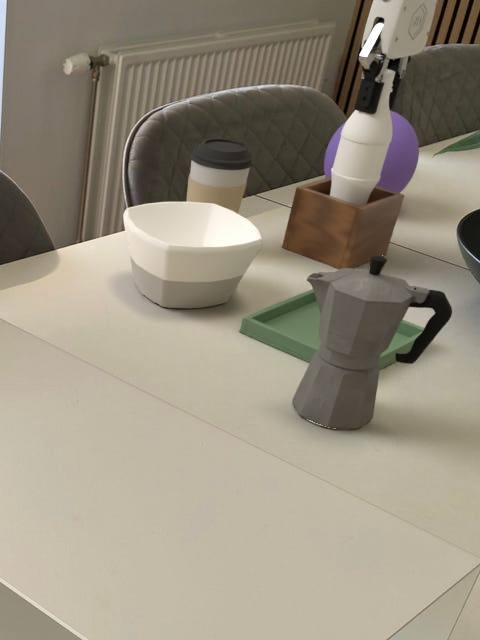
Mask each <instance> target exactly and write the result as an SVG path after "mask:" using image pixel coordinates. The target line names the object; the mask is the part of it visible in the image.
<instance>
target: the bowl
mask: <svg viewBox="0 0 480 640" xmlns="http://www.w3.org/2000/svg"><path fill="white" fill-rule="evenodd" d="M122 217H123V219H122V220H123V227H124V232H125V237H126V243H127V248H128V254H129V257H130V258H129V259H130V264H131V270H132V277H133V281H134V285H135V286H136V288H137V289H138V291H139V293H140V294H141V295H143V296H144V295H145V296H144V297H146V298H147V299H149V300H150V301H151V302H153V303H155V304H156V303H157V304H156V305H158V304H159V305H158V306H160V307H162V308H166V307H167V309H201V308H208V307H214V306H217V305H221V304H225V303H227V302H228V301H229V300H230V298H231V296H232V295H233V294H234V291H235V290H236V289H237V287H238V285H239V284H240V282H241V280H242V278H243V277H244V275H245V274H246V272H247V271H248V269H249V267H250V266H251V264H252V263H253V261H254V260H255V258H256V256H257V254H258V253H259V251H260V250H261V248H262V246H263V239H262V236H261V233H260V230H259V228H258V227H256V226H255V224H254V223H252V222H251V221H250V219H248V218H246V217H245V216H243V215H241V214H239V213H238V214H237V213H235V212H234V211H231V210H229V209H226V208H224V207H221V206H219V205H216V204H212V203H199V202H186V201H160V202H151V203H150V202H149V203H143V204H139V205H134V206H130V207H127V208H125V210H124V212H123V216H122Z"/></svg>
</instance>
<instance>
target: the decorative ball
mask: <svg viewBox="0 0 480 640" xmlns="http://www.w3.org/2000/svg"><path fill="white" fill-rule="evenodd" d="M390 114H391V120H392V129H393V132H392V140H391V142H390V144H389V147H388V150H387V154H386V157H385V160H384V164H383V167H382V171H381V174H380V180H379V182H378V183H377V184H376V186H378V187H381V188H384V189H387V190H390V191H393V192H397V193H400V194H401V193H402V192H403V191H404V190H405V188H406V187H407V186H408V185H409V184H410V182H411V180H412V179H413V176H414V174H415V172H416V169H417V167H418V163H419V157H420V144H419V139H418V135H417V132H416V131H415V129H414V127H413V126H412V124H411V123H410V122H409V120H407V119H406V118H405V117H404V116H402V115H401V114H400V113H398V112H396V111H392V110H390ZM346 122H347V120H346V121H344V122H343V124H341V125H340V126H339V127H338V128H337V130H336V131H335V132H334V134H333V135H332V137H331V139H330V140H329V143H328V146H327V148H326V151H325V155H324V160H323V171H324V176H325V178H328V177H331V176H332V174H331V169H332V168H333V165H334V161H335V157H336V153H337V150H338V146H339V142H340V138H341V132H342V129H343V127H344V125H345V123H346ZM325 178H324V179H325Z"/></svg>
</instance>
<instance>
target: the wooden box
mask: <svg viewBox="0 0 480 640" xmlns="http://www.w3.org/2000/svg"><path fill="white" fill-rule="evenodd" d="M331 182H332V176H331V177H328V178H322V179H318V180H316V181H311V182H309V183H305V184H302V185H299V186H296V188H295V192H294V195H293V200H292V204H291V208H290V212H289V216H288V221H287V224H286V229H285V231H284V232H285V233H284V237H283V241H282V244H281V248H283V249H284V250H285V249H286V250H288V251H290V252H293V253H296V254H299V255H302V256H305V257H306V258H308V259H311V260H315V261H316V262H320V263H322V264H325V265H328V266H331V267H333V268H336V269H338V270H340V269H342V268H351V269H356V268H357V267H360V266H361V265H364V264H367V263H370V259H371V257H372V256H382V255H384V256H386V255H387V252H388V249H389V246H390V243H391V240H392V237H393V234H394V230H395V227H396V223H397V221H398V217H399V215H400V211H401V208H402V205H403V201H404V198H405V194H402V193H401V192H400V193H397V192H393V191H390V190H387V189H384V188H381V187H378V186H375V187H374V189H373V190H372V192H371V194H370V196H369V198H368V201H367V204H366V205H363V206H359V205H356V204H353V203H350V202H347V201H344V200H341V199H338V198H335V197H332V196H330V192H331ZM385 254H386V255H385ZM382 257H383V256H382Z"/></svg>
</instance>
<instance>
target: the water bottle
mask: <svg viewBox="0 0 480 640" xmlns="http://www.w3.org/2000/svg"><path fill="white" fill-rule="evenodd" d="M394 77H395V71H393V70H389V69H386V71H385V74H384V77H383V79H382V81H381V82H383V83H384V86H383V90H382V93H381V97H380V100H379V104H378V107H377V111H376V113H375V114H368V113H365V112H361V111H357V110H355V109H354V110H353V112H352V113H351V115H350V116H349V117H348V119H347V120H346V121H347V122H346V121H345V122H346V123H345V122H344V123H345V125H344V127H343V129H342V132H341V138H340V142H339V146H338V150H337V153H336V157H335V161H334V165H333V168H332V169H331V174H332V182H331V192H330V196H332V197H335V198H338V199H341V200H344V201H347V202H350V203H353V204H356V205H359V206H363V205H366V204H367V201H368V198H369V196H370V194H371V192H372V190H373V189H374V187H375V186H376V184H377V183H378V182H379V180H380V174H381V171H382V167H383V164H384V160H385V157H386V154H387V150H388V147H389V144H390V142H391V140H392V132H393V129H392V120H391V114H390V111H391V110H390V109H389V95H390V92H392V90H393V89H392V86H393V84H392V83H393V80H394Z"/></svg>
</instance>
